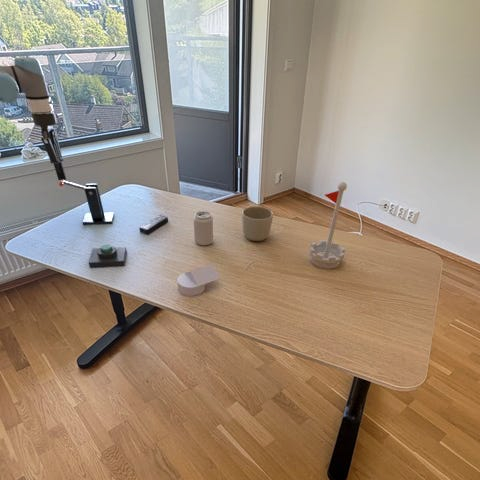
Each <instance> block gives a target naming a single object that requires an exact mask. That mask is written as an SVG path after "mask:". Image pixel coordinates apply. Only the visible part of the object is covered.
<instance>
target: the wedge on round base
mask: <svg viewBox="0 0 480 480" xmlns="http://www.w3.org/2000/svg"><path fill="white" fill-rule="evenodd" d="M219 279H221V277H220V275H219V273H218V272H217V269H216V267H215V265H214V263H210V264H208V265H203V266H201V267H198V268H195V269H193V270H189V271H187V272H184V273H182V274H180V275H178V277H177V278H176V281H177V290H178V292H179V293H180V294H181V295H183V296H188V297H195V296H198V295H200V294H203V293H204V292H205V288H206V284H208V283H211V282H214V281H217V280H219Z"/></svg>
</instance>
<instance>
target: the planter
mask: <svg viewBox="0 0 480 480" xmlns="http://www.w3.org/2000/svg"><path fill="white" fill-rule="evenodd" d="M273 218H274V212H273V210H271V209H270V208H268V207H265V206H257V205H255V206H254V205H253V206H248V207H246V208H244V209H243V210H242V212H241V225H242V233H243V236H244V237H245V238H246V239H248V240H250V241H251V242H261V241H264V240H266V239H267V238H268V237H269V236H270V234H271V229H272V224H273Z"/></svg>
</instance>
